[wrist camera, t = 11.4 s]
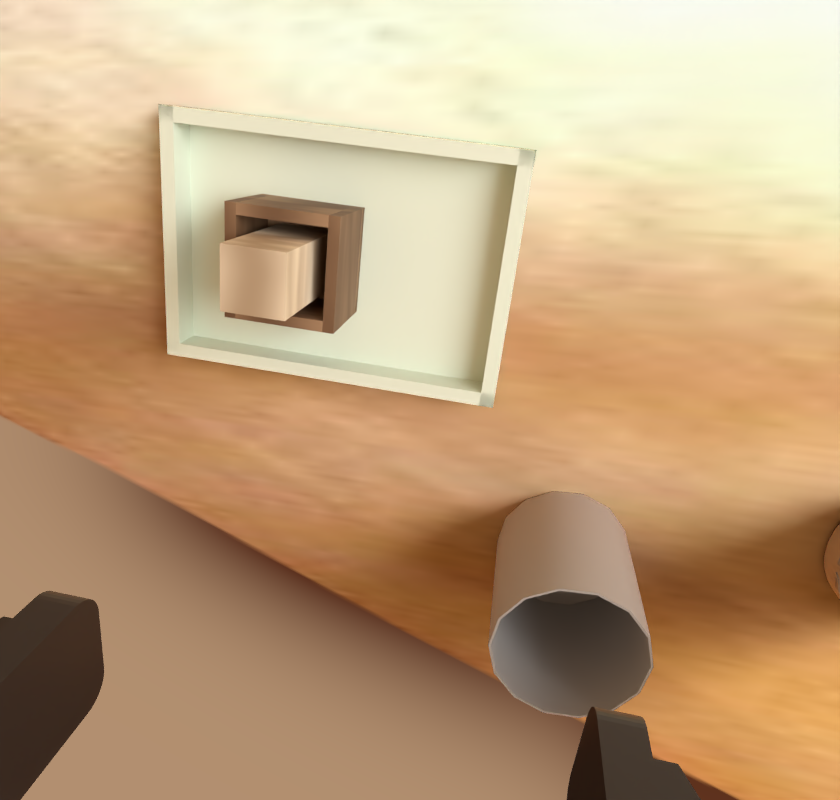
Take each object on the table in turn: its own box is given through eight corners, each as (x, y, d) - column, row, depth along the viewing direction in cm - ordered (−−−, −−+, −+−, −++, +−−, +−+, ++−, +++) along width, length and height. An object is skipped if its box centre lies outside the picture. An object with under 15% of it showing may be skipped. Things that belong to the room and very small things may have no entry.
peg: (336, 230, 37) (287, 252, 30) (332, 286, 38) (284, 321, 31) (281, 223, 37) (219, 242, 30) (279, 278, 38) (219, 311, 31)
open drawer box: (364, 207, 37) (340, 216, 32) (356, 311, 39) (333, 334, 34) (262, 193, 37) (224, 200, 33) (260, 296, 40) (224, 316, 35)
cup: (475, 561, 45) (460, 669, 36) (538, 469, 42) (540, 562, 32) (582, 618, 45) (595, 740, 36) (653, 532, 42) (687, 641, 33)
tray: (535, 150, 35) (536, 150, 33) (494, 393, 40) (492, 407, 38) (180, 106, 37) (158, 104, 35) (186, 342, 42) (167, 354, 40)
